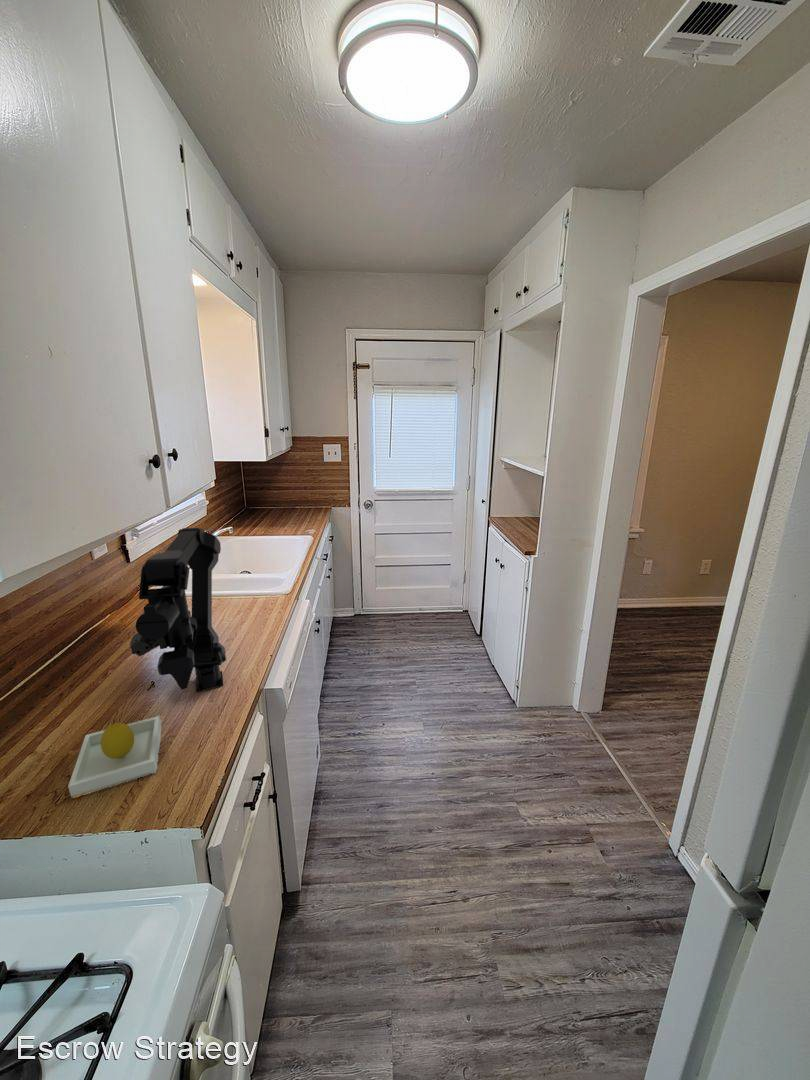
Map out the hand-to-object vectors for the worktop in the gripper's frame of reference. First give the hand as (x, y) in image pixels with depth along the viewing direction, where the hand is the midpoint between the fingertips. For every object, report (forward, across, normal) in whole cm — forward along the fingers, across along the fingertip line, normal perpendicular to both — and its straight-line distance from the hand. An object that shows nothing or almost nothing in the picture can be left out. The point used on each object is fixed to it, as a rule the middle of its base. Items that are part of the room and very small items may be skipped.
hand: (185, 676), depth 94 cm
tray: (+12, +7, -13) cm, 19 cm away
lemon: (+11, +7, -13) cm, 19 cm away
